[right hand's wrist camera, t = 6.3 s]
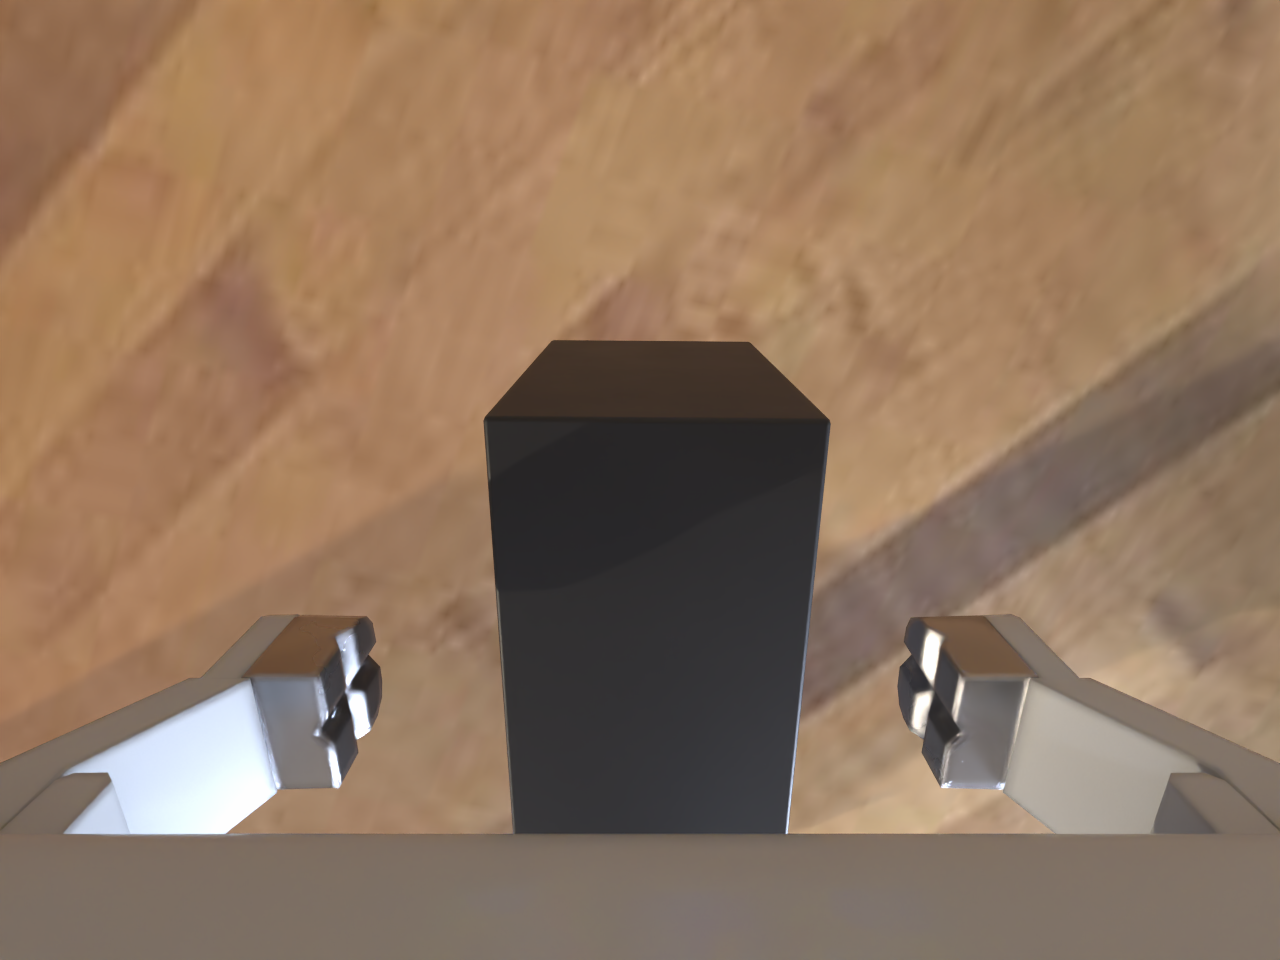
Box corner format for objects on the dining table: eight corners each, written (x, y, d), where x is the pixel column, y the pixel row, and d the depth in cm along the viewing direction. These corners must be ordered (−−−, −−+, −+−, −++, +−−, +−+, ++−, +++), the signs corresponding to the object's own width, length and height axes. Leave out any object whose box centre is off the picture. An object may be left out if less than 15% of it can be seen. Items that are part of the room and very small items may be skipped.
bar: (551, 339, 17) (482, 416, 10) (750, 341, 17) (832, 419, 10) (576, 1059, 27) (551, 1376, 19) (706, 1060, 27) (731, 1378, 19)
